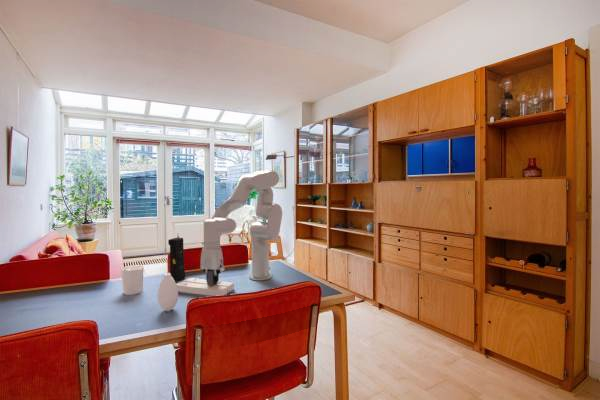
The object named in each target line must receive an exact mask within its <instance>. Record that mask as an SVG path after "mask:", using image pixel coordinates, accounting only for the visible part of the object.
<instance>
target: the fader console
mask: <svg viewBox="0 0 600 400" xmlns="http://www.w3.org/2000/svg"><path fill="white" fill-rule="evenodd" d="M176 285H177V289H178V295H179V294H180V295H187V296H193V295H194V296H193V297H195V296H196V297H202V298H205V297H204V296H216V295H226V294H228V295H230V294H232V293H233V292H235V282H231V281H224V280H218V282H217V284H215V285H213V286H211V285H207V280H206V278H204V279H202V278H197V277H188V278H186V279H184V280H182V281H178V282H177V283H176ZM232 291H233V292H232Z"/></svg>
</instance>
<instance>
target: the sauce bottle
mask: <svg viewBox="0 0 600 400" xmlns="http://www.w3.org/2000/svg"><path fill="white" fill-rule="evenodd" d="M163 276H164V277H162V278H161V281H160V283H159V286H158V291H157V302H158V305H159V307H160V308H161V310H163V311H165V312H170V311H171V310H173V309H174V308H175V307H176V306H177V303H178V299H179V294H178V289H177V285H176V284H177V283H176V281H174V279H173V278H172V276H171V274H170V273H169V268H168V267H167V268H166V273H164V275H163Z"/></svg>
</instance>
